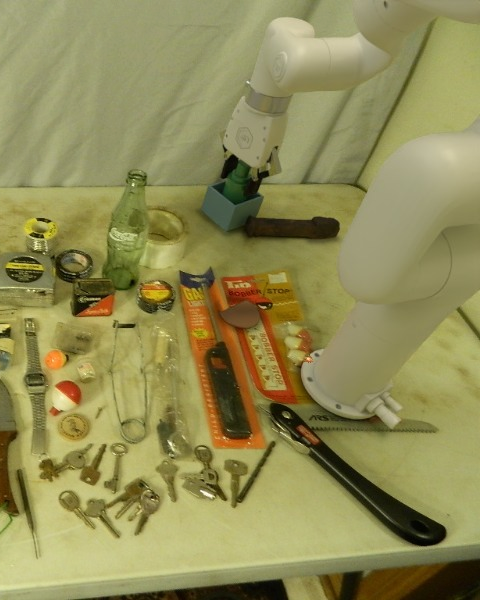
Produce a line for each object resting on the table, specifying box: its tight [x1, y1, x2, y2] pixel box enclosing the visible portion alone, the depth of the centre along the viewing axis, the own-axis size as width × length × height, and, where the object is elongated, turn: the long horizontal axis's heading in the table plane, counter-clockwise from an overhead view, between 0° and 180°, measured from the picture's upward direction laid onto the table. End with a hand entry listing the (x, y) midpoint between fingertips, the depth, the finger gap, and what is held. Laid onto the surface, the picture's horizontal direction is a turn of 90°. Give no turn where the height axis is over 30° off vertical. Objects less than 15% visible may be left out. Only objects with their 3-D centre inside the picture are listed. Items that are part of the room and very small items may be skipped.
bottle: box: [222, 159, 252, 205], centre depth 105 cm, size 5×5×12 cm
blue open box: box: [200, 179, 265, 233], centre depth 108 cm, size 8×8×6 cm
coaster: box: [218, 299, 261, 330], centre depth 91 cm, size 7×7×1 cm
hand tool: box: [244, 215, 341, 240], centre depth 106 cm, size 19×4×5 cm, turn 89°
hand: (238, 184), depth 105 cm, fingers open, 5 cm apart
